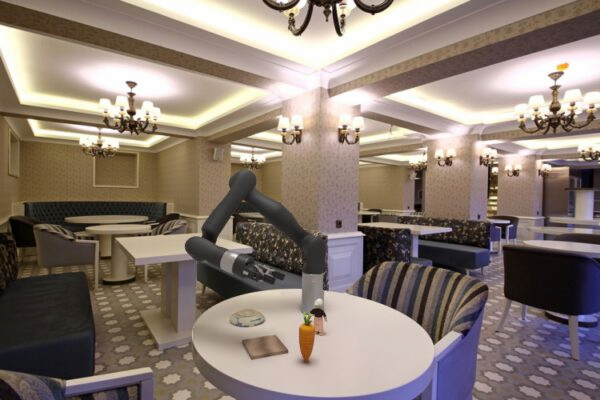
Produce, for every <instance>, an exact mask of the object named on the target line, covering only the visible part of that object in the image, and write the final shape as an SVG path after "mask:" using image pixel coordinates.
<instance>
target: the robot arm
mask: <svg viewBox="0 0 600 400" xmlns="http://www.w3.org/2000/svg"><path fill="white" fill-rule="evenodd" d="M228 186H229V191H228V192H227V194H226V195H225V196H224V197H223V199H222V200H221V201H220V202H219V203H218V204H217V205H216V206H215V207H214V209H213V210H212V211H211V212H210V214H209V216H208V217H207V218H206V219H205V221H204V222H203V223H202V226H201V227H200V228H201V229H200V231H201V236H198V235H197V236H196V235H195V236H191V237H188V238H187V240H186V241H185V243H184V250H185V252H186V253H187V255H189V256H190V257H191V258H192V259H193V260H194V261H196V262H198V263H200V262H204V261H206V262H208V264H210V265H212V266H213V267H216V268H218V269H221V270H223V271H225V272H227V273H229V274H231V275H233V276H237V277H240V278H242V279H249V280H252V281H254V282H265V283H267V284H270V285H272V286H273V285H275V283H276V280H279V281H284V280H285V278H286V274H285V273H283V272H280V271H278V270H277V269H276V267H271V266H269V265H267V264H263V263H257V264H255V258H254V257H253V256H250V255H248V254H245V253H242V252H240V251H236V250H233V249H228V248H226V247H223V246H220V245H217V241H218V239H219V236H220V234H221V233H222V232H223V230H224V228H225V227H226V225H228V222H229V220H230V219H231V217H232V216H233V214H234V213H235V211H236V210H237V208H238V207H239V206H240V204H241V203H242V202H243V201H244V202H245V203H247V204H249V206H251V207H252V208H253V209H254V210H255V211H256V212H258V213H259V215H261V216H262V217H263V218H264V219H265V220H266V221H268V223H270V224H271V225H272V226H273V227H274V228H275V229H276V230H278V231H279V232H280V233H281V234H283V235H285V236H286V237H288V238H289V239H290V240H291V241H292V242H293V243H294V244H295V245H296V246H297V247H298V249H299V250H300V251H301V252H302V253H303V254H304V255H306V256H305V258H306V259H305V260H306V261H305V264H303V266H302V273H301V276H302V278H301V303H300V304H301V305H300V307H301V308H300V311H301V312H302V314H303V313H304V312H305V313H306V315H309V313H310V311H311V310H312V309H314V308H316V306H315V305H314V302H315V301H316V300H317V299H322V300H323V304H322V308H320V309H322V310H324V311H325V290H324V289H323V287H324V284H323V283H324V269H325V267H326V260H327V258H326V257H327V244H326V242H325V240H324V239H323V238H321V237H320V236H315V235H313V234H311V233H310V232H308V231H307V230H306V229H305V228H304V227H302V226H301V225H300V223H299V222H298V221H297V218H296V217H295V216H294V214H293V213H292V212H291V211H290V210H289V209H288V208H286V207H285V205H284V204H282V203H281V202H279V201H278V200H275V199H273V198H271V197H269V196H268V195H265V194H263V193H262V192H261V191H260V190H258V189H257V188H256V186H257V176H256V174H255V173H254V172H253V171H252V170H249V169H241V170H238V172H236V173H234V174H233V175H231V176H230V177H229V180H228ZM314 315H315V314H313V316H314Z"/></svg>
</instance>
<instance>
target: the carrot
mask: <svg viewBox="0 0 600 400" xmlns="http://www.w3.org/2000/svg"><path fill="white" fill-rule="evenodd" d="M302 315H303V321H304V323H301V324H300V325H299V327H298V343H299V351H300V354H301V356H302V358H303V361H304V362H305V363H307V362H308V361H309V359H310V357H311V355H312V354H313V349H314V345H315V337H316V336H315V335H316V334H315V326H314V324H313V320H312V319H311V318H312V317H313V316H314V315H313V314H306V313H305V312H304V313H303V312H302ZM307 315H308V316H307Z"/></svg>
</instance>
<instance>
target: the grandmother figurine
mask: <svg viewBox="0 0 600 400" xmlns="http://www.w3.org/2000/svg"><path fill="white" fill-rule="evenodd" d="M322 304H323V300H322V299H317V300H316V301H315V302H314V305H315V306H316V308H314V309H312V310H311V311H310V313H309V314H315V315H313V316H314V317H313V325H314V326H315V335H317V334H318V335H319V336H325V335H326V332H325V331H324V322H328V321H329V320H328V317H327V313H326V312H325V309H324V310H322V309H320V308H322ZM309 314H308V315H309Z"/></svg>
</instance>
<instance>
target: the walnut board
mask: <svg viewBox="0 0 600 400" xmlns="http://www.w3.org/2000/svg"><path fill="white" fill-rule="evenodd" d="M241 344H242V346H243V347H244V350H245V351H246V352H247V354H248V356H249V358H250V360H252V361H253V360H259V359H263V358H268V357H273V356H279V355H283V354H289V349H288V348H287V346H286V345H285V343H283V341H281V340H280V338H279V337H278V335H276V334H270V335H265V336H264V335H263V336H258V337H252V338H245V339H244V338H243V339H241Z"/></svg>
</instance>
